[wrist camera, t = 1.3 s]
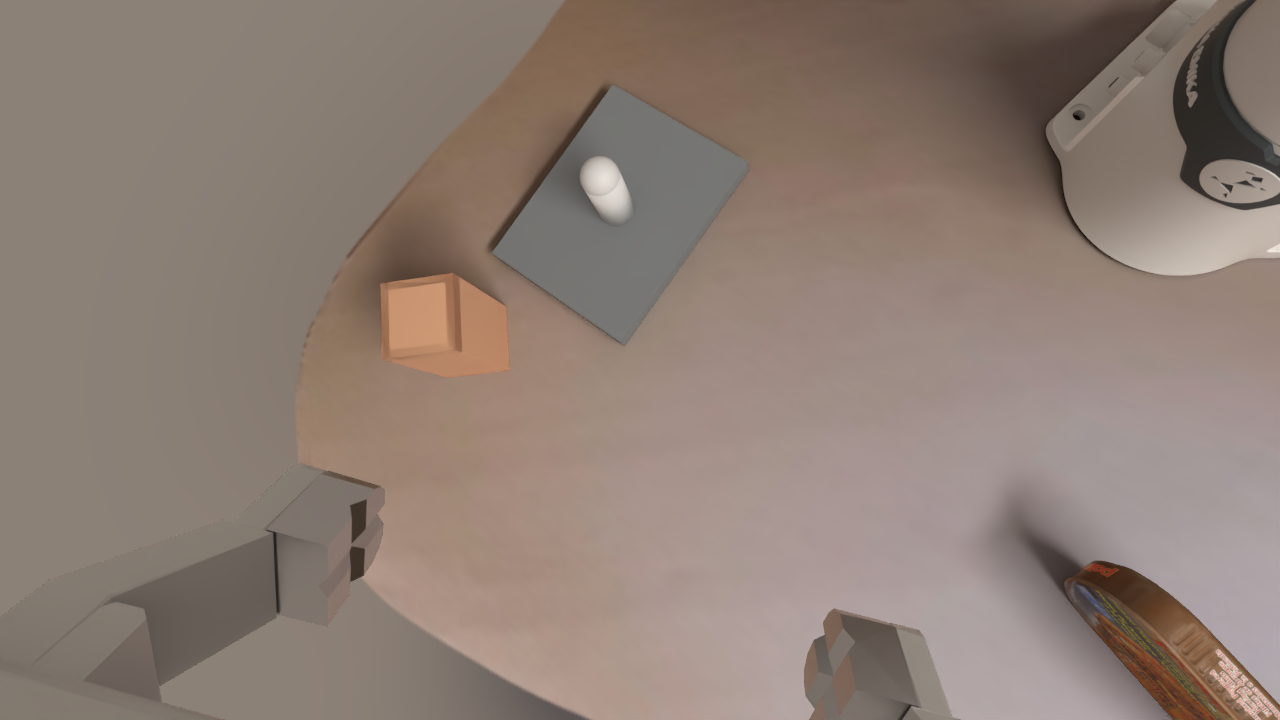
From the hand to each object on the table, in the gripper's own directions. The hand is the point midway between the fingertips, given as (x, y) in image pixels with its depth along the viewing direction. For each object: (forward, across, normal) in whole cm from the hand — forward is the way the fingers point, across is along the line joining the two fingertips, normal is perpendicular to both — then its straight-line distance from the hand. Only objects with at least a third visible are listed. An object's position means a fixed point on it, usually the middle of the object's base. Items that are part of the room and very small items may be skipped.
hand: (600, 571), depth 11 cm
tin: (+25, -37, +20) cm, 49 cm away
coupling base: (+45, +6, +5) cm, 46 cm away
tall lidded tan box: (+39, +15, +18) cm, 45 cm away
